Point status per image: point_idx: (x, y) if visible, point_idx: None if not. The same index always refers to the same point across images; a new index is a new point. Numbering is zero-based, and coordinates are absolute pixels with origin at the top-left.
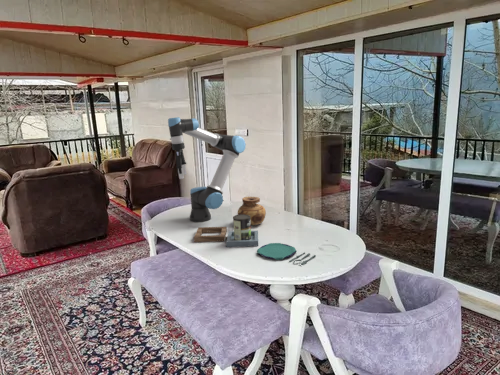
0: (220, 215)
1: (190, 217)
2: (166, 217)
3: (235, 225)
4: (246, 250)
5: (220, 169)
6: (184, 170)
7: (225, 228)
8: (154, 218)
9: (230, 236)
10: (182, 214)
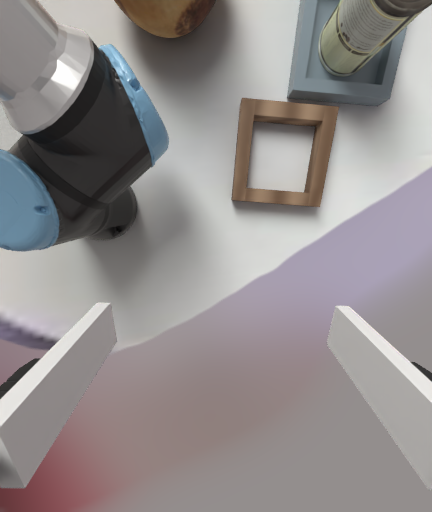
0: None
1: (116, 236)
2: (84, 310)
3: (406, 25)
4: (424, 38)
5: None
6: (85, 353)
7: (260, 102)
8: None
9: (345, 83)
10: (52, 267)
